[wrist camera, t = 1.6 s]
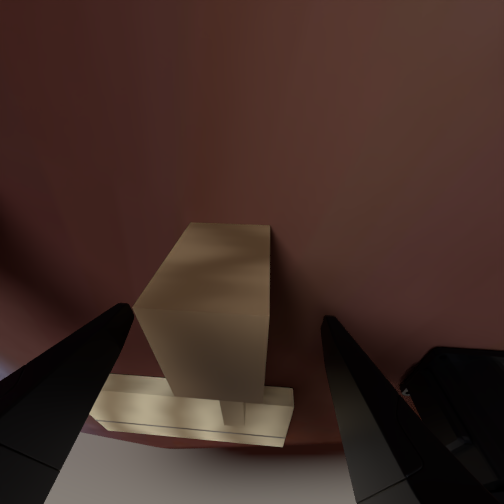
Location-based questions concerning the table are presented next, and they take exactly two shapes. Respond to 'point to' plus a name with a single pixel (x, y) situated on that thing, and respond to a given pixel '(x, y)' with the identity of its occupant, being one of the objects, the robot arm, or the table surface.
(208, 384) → the wooden mallet
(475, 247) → the table surface
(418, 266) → the table surface
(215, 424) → the board
